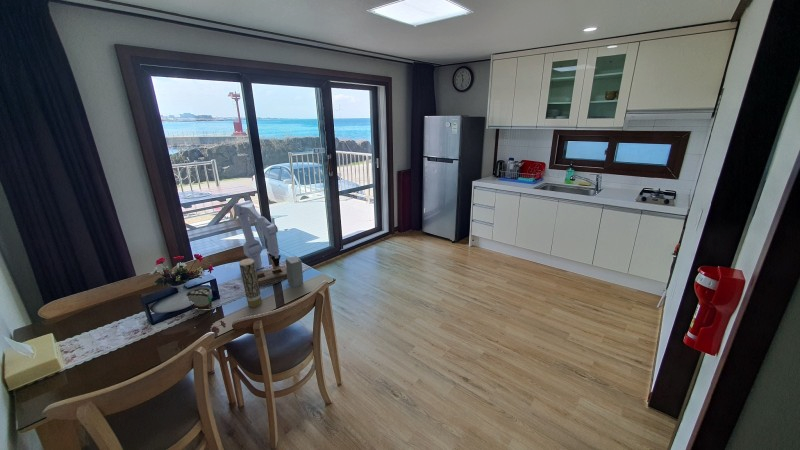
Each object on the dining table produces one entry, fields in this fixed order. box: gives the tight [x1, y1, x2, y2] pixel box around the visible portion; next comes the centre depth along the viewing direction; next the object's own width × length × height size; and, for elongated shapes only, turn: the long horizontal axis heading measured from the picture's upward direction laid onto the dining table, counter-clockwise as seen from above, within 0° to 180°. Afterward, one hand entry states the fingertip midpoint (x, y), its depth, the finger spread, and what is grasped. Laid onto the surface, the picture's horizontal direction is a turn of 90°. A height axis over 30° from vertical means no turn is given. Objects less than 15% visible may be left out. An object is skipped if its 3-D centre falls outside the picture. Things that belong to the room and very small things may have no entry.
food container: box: [185, 287, 213, 310], centre depth 158 cm, size 12×6×10 cm, turn 84°
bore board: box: [256, 264, 287, 287], centre depth 187 cm, size 12×22×3 cm, turn 123°
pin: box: [269, 255, 281, 269], centre depth 186 cm, size 4×4×8 cm
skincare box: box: [285, 255, 304, 288], centre depth 179 cm, size 8×7×16 cm
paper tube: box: [238, 258, 263, 308], centre depth 158 cm, size 7×7×25 cm
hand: (276, 264), depth 187 cm, fingers closed on pin, 4 cm apart
